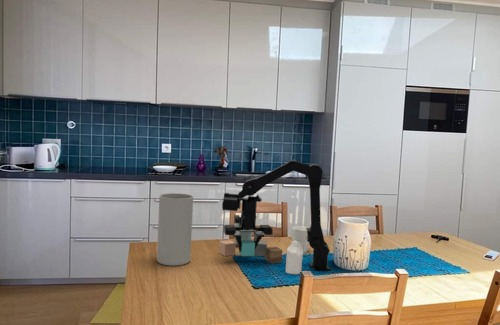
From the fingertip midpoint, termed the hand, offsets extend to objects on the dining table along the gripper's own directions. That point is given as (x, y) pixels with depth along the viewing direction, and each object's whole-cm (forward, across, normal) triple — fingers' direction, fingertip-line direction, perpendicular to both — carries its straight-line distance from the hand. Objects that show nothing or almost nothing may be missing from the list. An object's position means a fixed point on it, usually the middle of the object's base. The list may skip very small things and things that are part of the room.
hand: (246, 251), depth 155 cm
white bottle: (+4, -15, +13) cm, 20 cm away
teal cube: (+1, 0, 0) cm, 1 cm away
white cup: (+4, -27, -13) cm, 30 cm away
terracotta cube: (+4, +6, -10) cm, 12 cm away
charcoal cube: (+4, -8, -9) cm, 13 cm away
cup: (+4, -3, -21) cm, 22 cm away
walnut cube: (+4, -11, 0) cm, 12 cm away
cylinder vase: (+4, +28, -2) cm, 28 cm away
